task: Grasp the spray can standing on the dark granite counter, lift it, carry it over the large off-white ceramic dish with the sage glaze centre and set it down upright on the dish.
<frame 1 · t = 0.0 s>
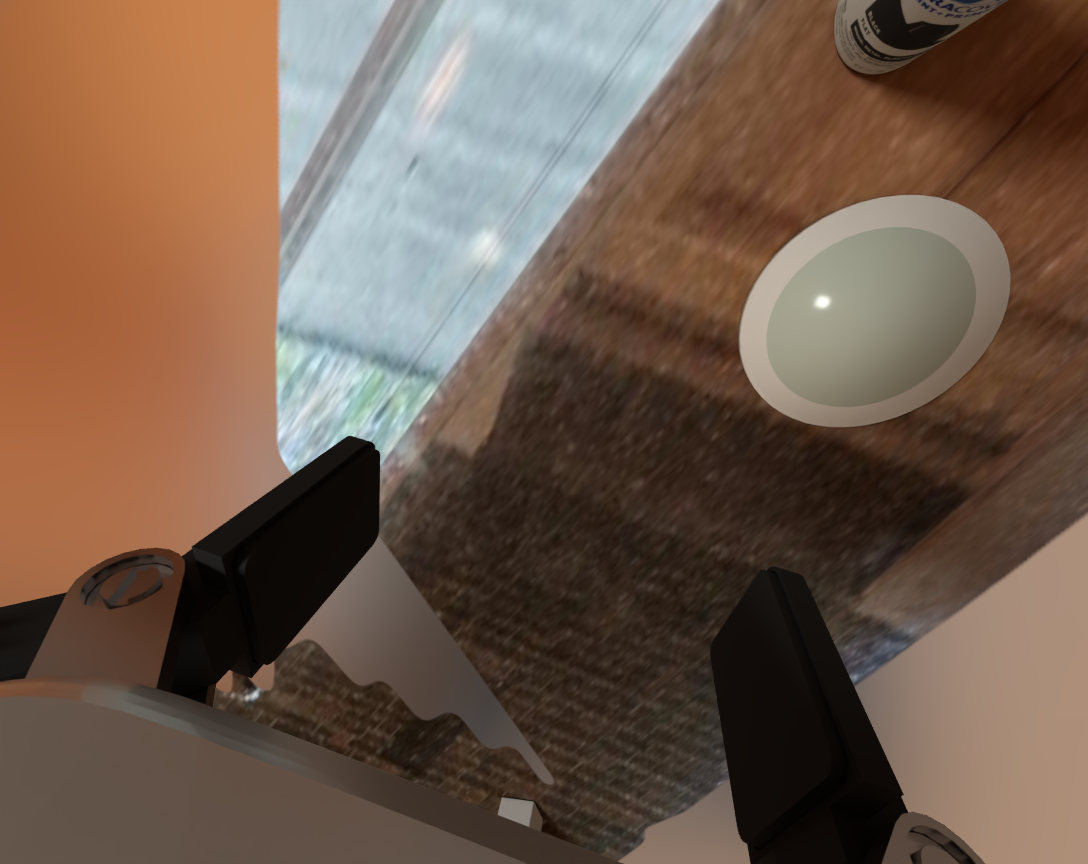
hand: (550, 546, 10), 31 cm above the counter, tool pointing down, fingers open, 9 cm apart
dish: (856, 322, 34), on the counter
spray can: (888, 9, 26), on the counter
milk carton: (523, 806, 85), on the counter
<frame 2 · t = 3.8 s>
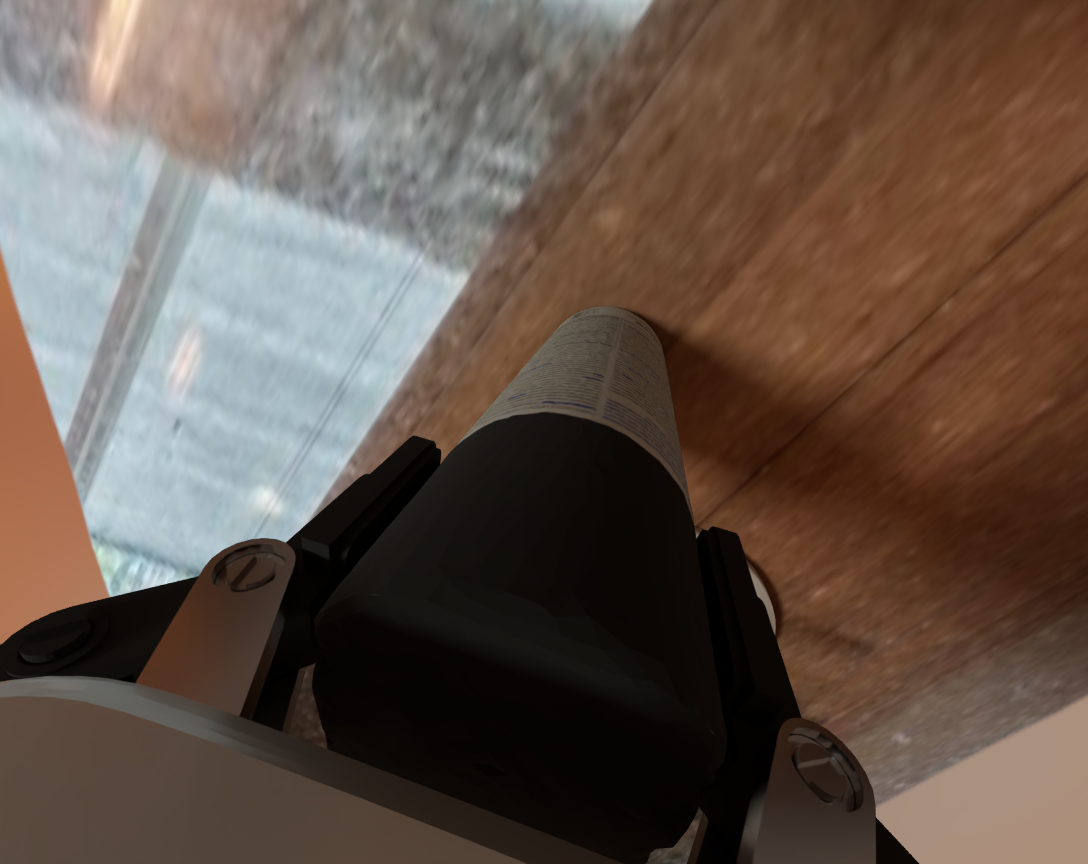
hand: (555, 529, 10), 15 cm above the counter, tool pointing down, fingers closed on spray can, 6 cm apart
dish: (640, 610, 31), on the counter
spray can: (603, 361, 23), on the counter, touching gripper
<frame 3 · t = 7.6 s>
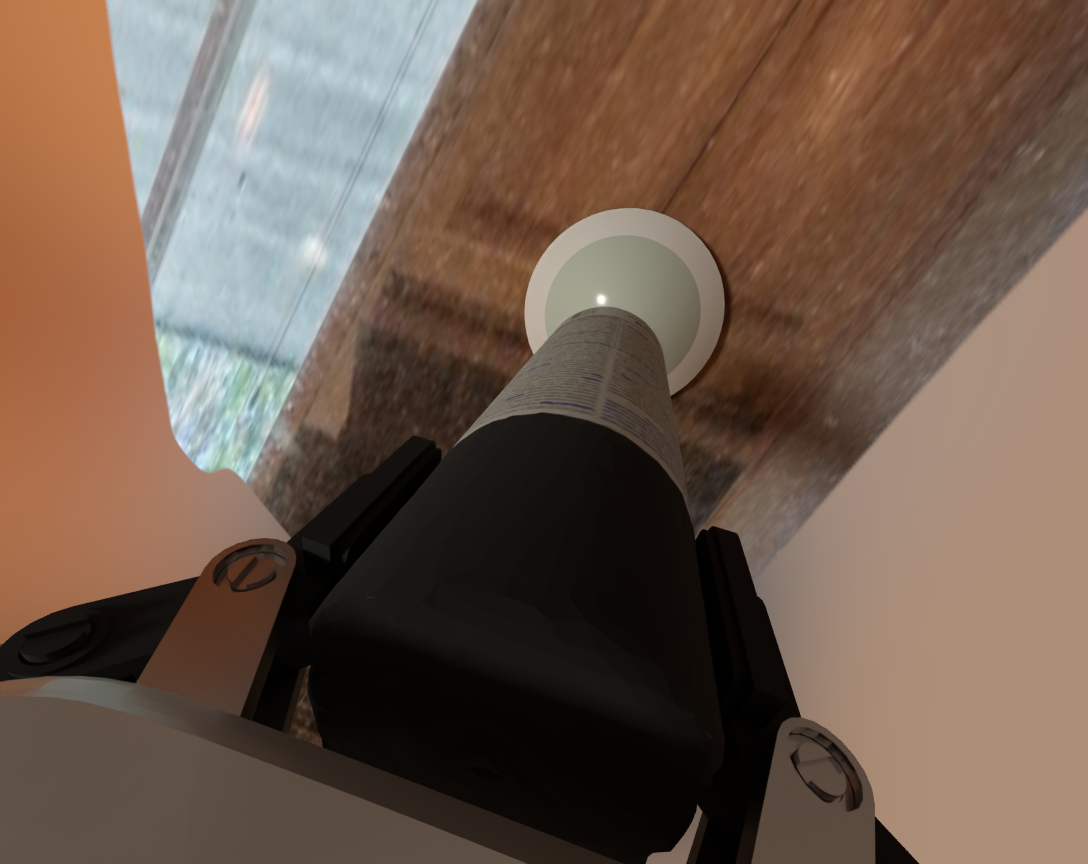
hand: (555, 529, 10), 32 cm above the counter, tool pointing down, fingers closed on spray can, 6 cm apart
dish: (619, 316, 39), on the counter
spray can: (603, 361, 23), point 17 cm above the counter, touching gripper
when the fingers open (17 cm above the counter, at t = 11.3 s): spray can drops 1 cm, resting on dish.
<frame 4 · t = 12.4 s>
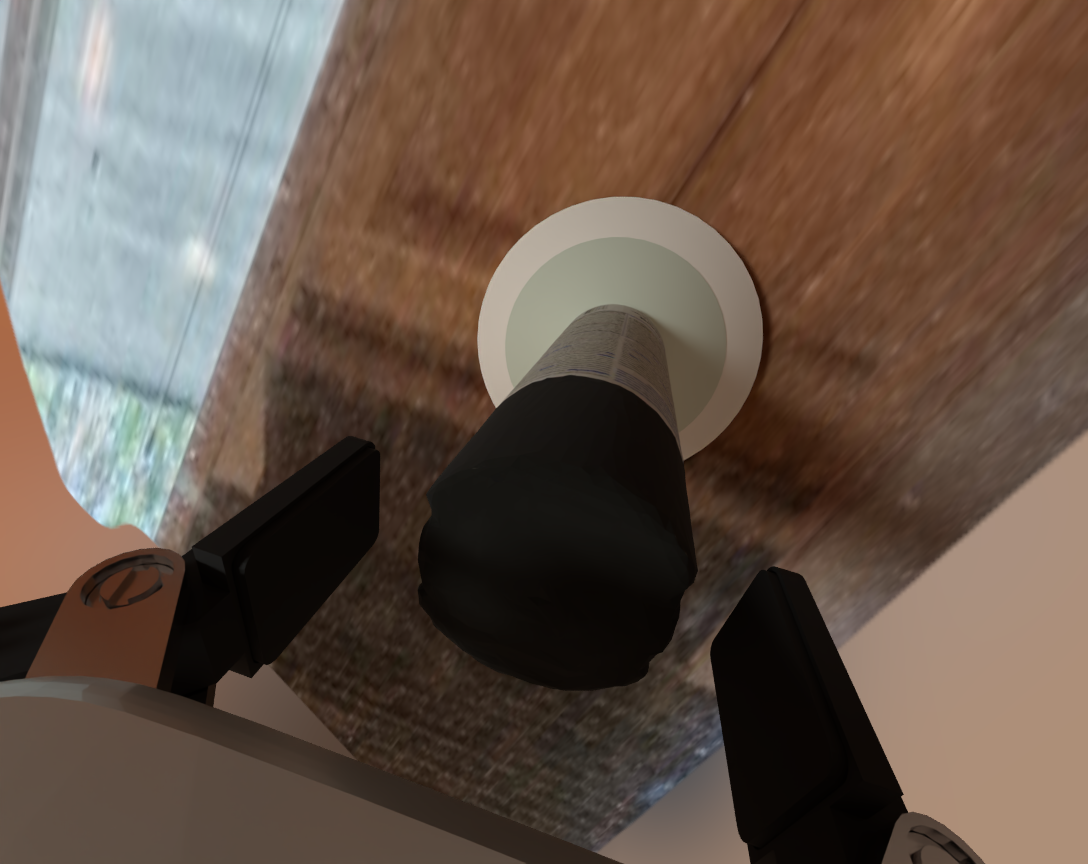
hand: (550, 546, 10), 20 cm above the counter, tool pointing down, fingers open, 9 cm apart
dish: (610, 352, 27), on the counter
spray can: (611, 353, 26), point 1 cm above the counter, touching dish
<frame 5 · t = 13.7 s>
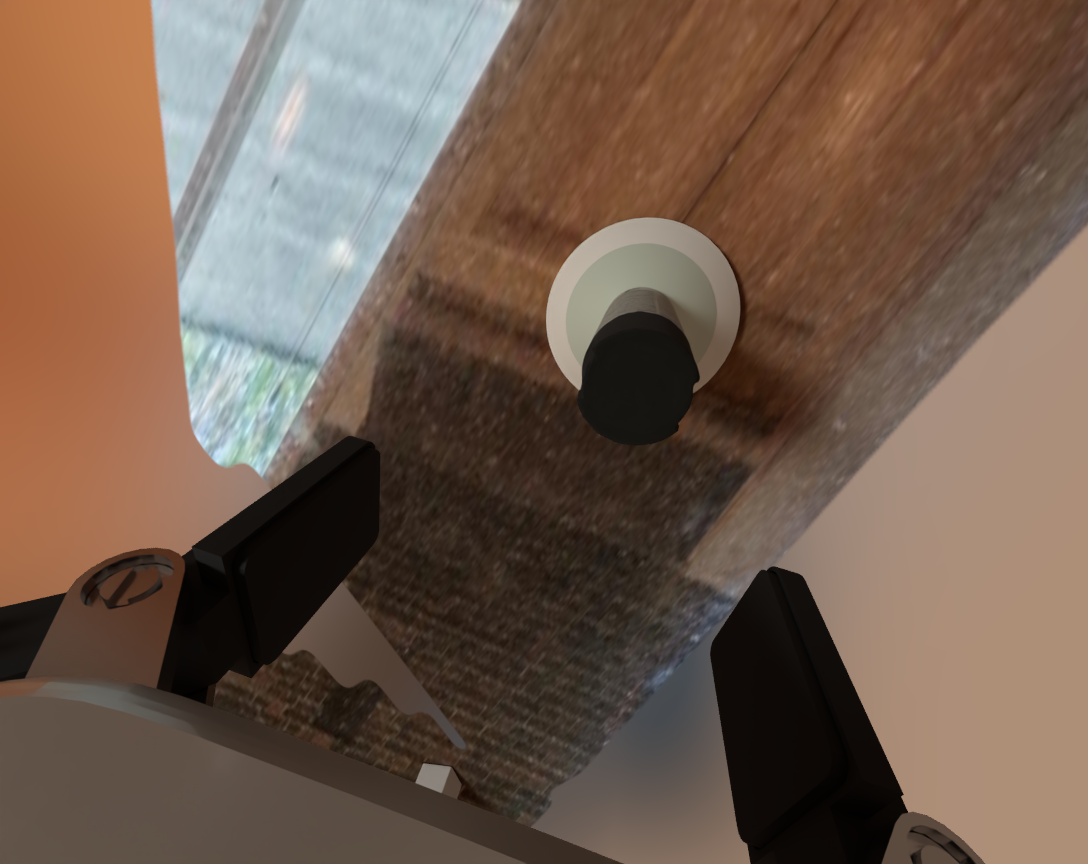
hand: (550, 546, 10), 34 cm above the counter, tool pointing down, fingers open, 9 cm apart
dish: (638, 321, 40), on the counter
spray can: (639, 321, 39), point 1 cm above the counter, touching dish
milk carton: (443, 772, 91), on the counter
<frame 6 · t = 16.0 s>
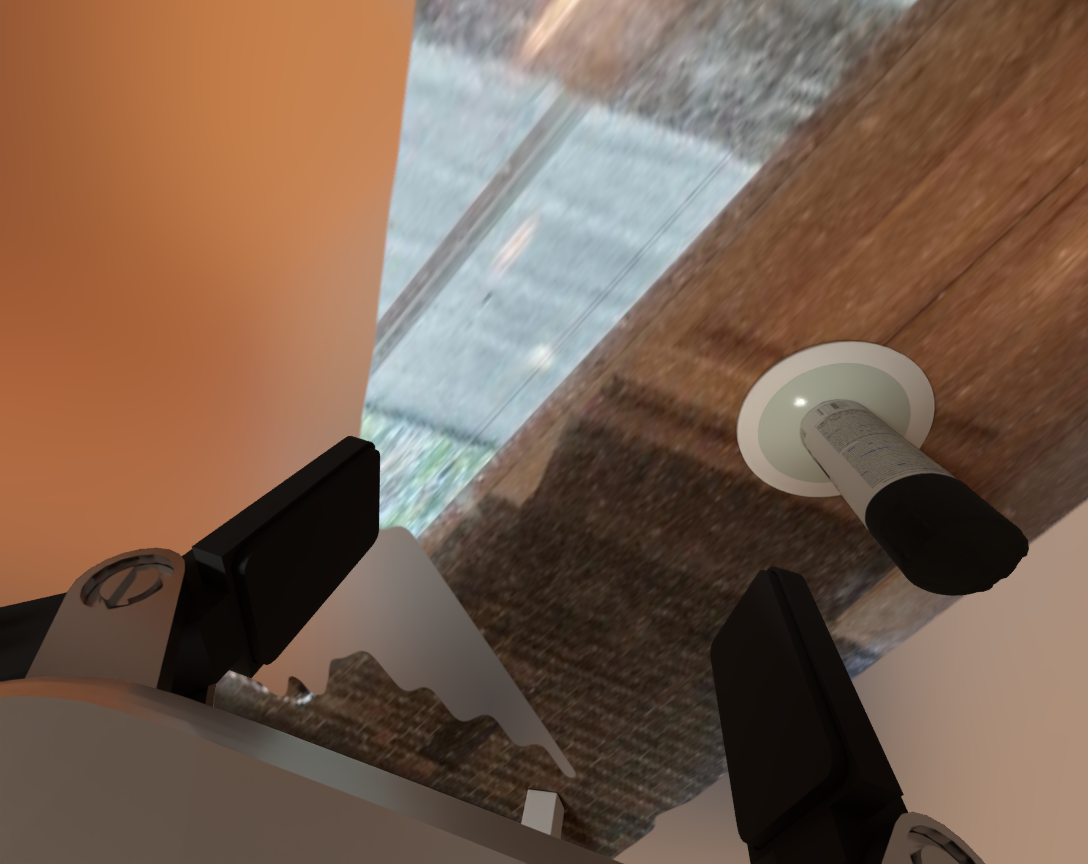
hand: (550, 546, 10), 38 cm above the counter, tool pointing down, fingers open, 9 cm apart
dish: (825, 422, 44), on the counter
spray can: (831, 424, 43), point 1 cm above the counter, touching dish
milk carton: (546, 797, 96), on the counter
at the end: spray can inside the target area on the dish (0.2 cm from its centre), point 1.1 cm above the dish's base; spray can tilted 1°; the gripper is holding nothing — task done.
